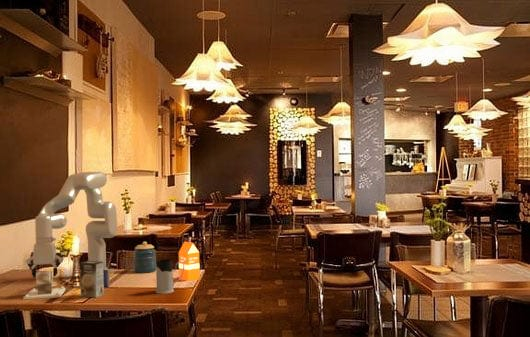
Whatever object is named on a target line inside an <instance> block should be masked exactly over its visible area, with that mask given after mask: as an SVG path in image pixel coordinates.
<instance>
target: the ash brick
mask: <svg viewBox="0 0 530 337" xmlns="http://www.w3.org/2000/svg"><path fill="white" fill-rule="evenodd" d="M53 280H54V276H53V270H52V269H51V270H39V271H38V272H36V277H35V285H37V284H50V283H51V282H52V283H53Z"/></svg>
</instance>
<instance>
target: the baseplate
mask: <svg viewBox="0 0 530 337" xmlns="http://www.w3.org/2000/svg"><path fill="white" fill-rule="evenodd" d="M65 291H66V288H65V286H61V287H60V288H59V287H58V288H52V293H51V294H42V295H38V289H36V288H31V290H30V291H29V292H28V293H26V294H25V295H24V296H23V298H22V299H23V300H37V299H53V298H56V299H57V298H60V297H61V296H62V295H63V294H64V293H65Z"/></svg>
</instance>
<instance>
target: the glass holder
mask: <svg viewBox="0 0 530 337" xmlns="http://www.w3.org/2000/svg"><path fill="white" fill-rule="evenodd" d="M179 263H182V262H179V261H178V262H176V263H175V266H174V267H175V268H174V270H173V260H172V259H168V258H167V259H157V260H156V271H155V272H156V273H155V274H156V291H155V293H156V294H159V295H160V294H170V293H174V292H175V290H174V286H175V284H176V283H177V282H179V280H181V279H180V278H181V277H182V275H183V272H184V264H183V272H182V275H181V276H180V278H179V277H178V279H176V280H175V281H174V275H173V274H174V272H176V270H177V265H179Z"/></svg>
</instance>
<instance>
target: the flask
mask: <svg viewBox="0 0 530 337" xmlns="http://www.w3.org/2000/svg"><path fill="white" fill-rule="evenodd" d="M109 270H110V269H109V268H107V269H103V279H104V288H109V287H110V285H111V284H110V273H109Z"/></svg>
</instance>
